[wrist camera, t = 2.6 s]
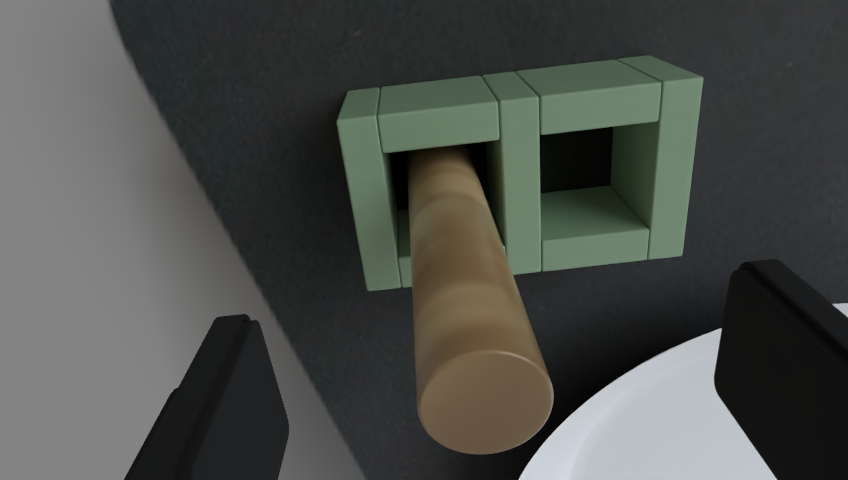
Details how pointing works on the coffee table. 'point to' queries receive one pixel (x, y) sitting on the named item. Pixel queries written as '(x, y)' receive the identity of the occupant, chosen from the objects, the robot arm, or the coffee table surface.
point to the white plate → (655, 426)
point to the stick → (468, 315)
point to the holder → (533, 161)
